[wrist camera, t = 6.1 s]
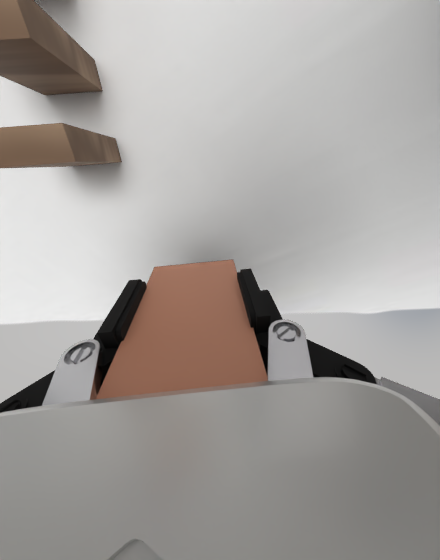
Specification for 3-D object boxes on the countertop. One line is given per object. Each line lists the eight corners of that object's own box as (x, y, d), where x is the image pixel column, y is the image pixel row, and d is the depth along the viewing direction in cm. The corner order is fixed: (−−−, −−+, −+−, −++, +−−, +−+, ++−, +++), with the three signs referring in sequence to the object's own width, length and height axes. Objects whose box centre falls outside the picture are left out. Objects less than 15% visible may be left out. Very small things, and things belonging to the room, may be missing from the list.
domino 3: (154, 266, 13) (84, 423, 5) (233, 259, 13) (274, 402, 6) (161, 293, 14) (110, 456, 6) (234, 285, 14) (270, 438, 7)
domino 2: (62, 142, 20) (-26, 129, 12) (115, 138, 20) (61, 123, 12) (71, 166, 21) (-5, 168, 13) (121, 162, 21) (75, 161, 13)
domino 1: (33, 63, 17) (-106, -19, 9) (94, 59, 17) (7, -25, 10) (44, 95, 18) (-72, 44, 10) (102, 91, 18) (30, 38, 11)
